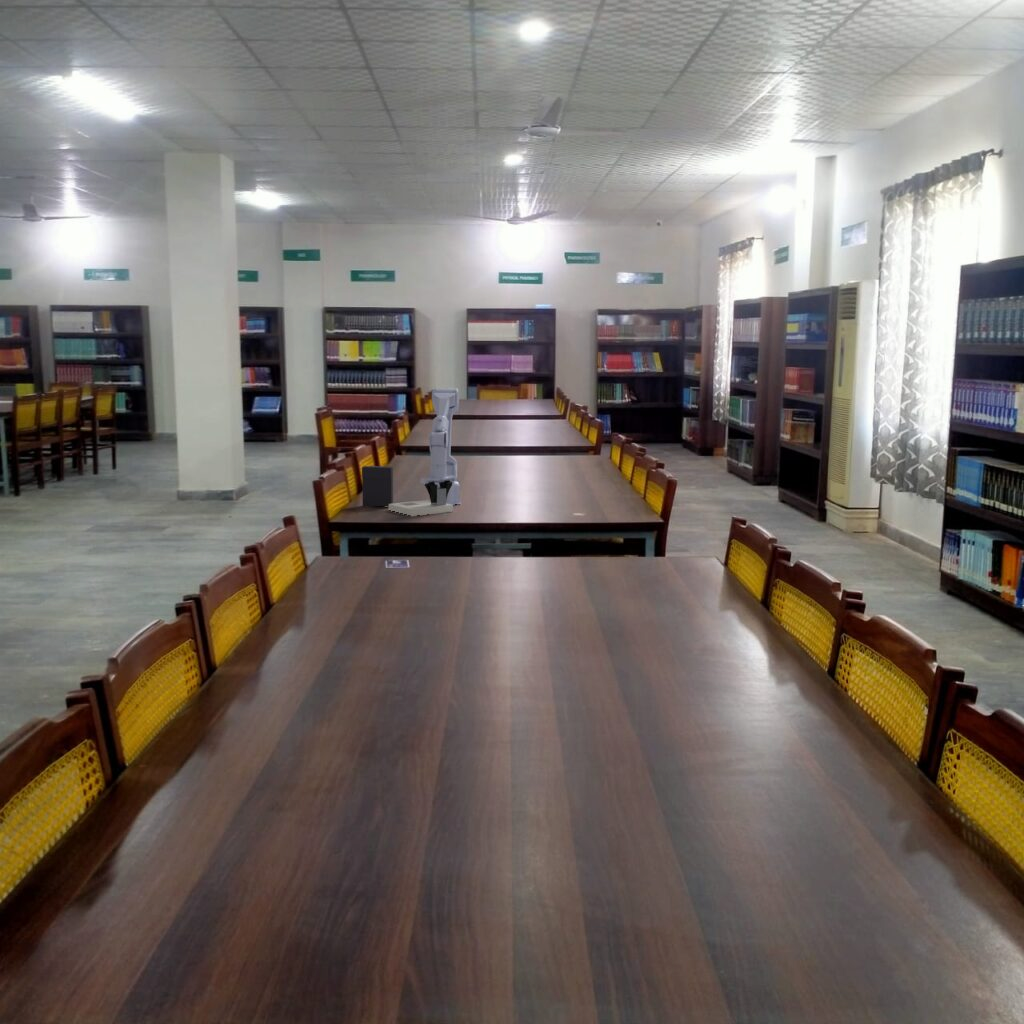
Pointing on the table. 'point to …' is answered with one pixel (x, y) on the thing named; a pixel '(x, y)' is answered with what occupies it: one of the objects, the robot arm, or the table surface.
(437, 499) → the pin
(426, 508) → the slot board
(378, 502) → the dark grey rectangular block
